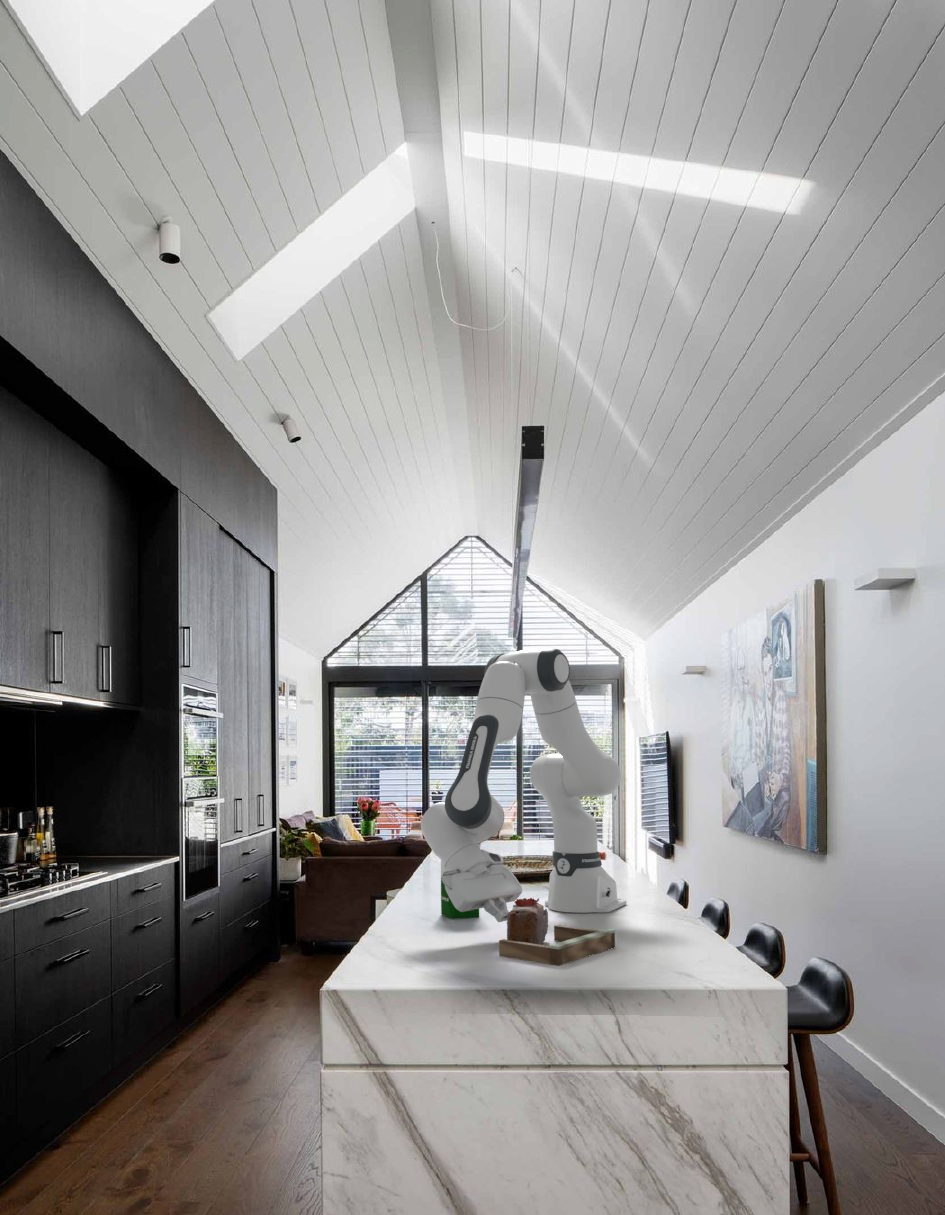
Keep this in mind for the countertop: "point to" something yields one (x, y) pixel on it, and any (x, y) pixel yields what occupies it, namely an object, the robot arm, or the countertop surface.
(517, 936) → the food item
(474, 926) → the countertop surface
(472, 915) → the milk carton
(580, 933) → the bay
